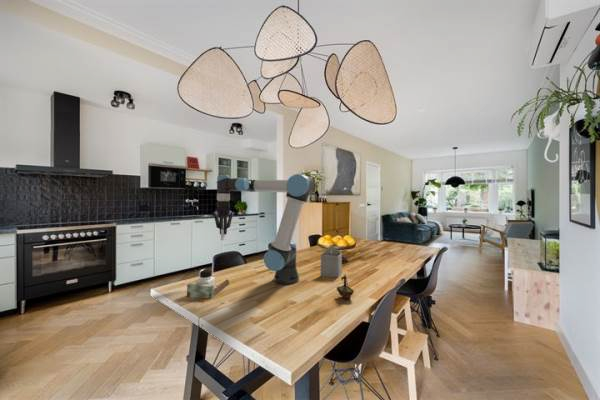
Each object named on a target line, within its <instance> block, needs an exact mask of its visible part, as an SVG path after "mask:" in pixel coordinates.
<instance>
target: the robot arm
mask: <svg viewBox="0 0 600 400" xmlns="http://www.w3.org/2000/svg"><path fill="white" fill-rule="evenodd" d="M315 191H316V181H315V180H314V179H313V178H312V177H310V176H308V175H305V174H303V173H296V174H293V175H291V176H290V177H289V178H288V179H247V178H246V177H239V178H238V177H237V178H234V177H231V176H230V175H229V174H218V175H217V178H216V200H217V201H216V210H215V211H213V212H212V215H213V217H214V221H215V225H216V228H217V229H219V235H220V241H224V240H226V235H227V233H228V229H230V227H231V224H232V220H233V217H234V214H235V211H234V212H233V211H232V210H231V192H249V193H253V192H254V193H257V192H258V193H286V194H285V197H286V198H287V201H286V203H285V206H284V210H283V213H282V217H281V220H280V223H279V226H278V229H277V233H276V235H275V239H274V240H273V241H271V242H270V245H269V250H267V251H266V252H265V253H264V255H263V263H264V265H265V267H266V268H267V269H268V270H269V271H272V272H275V273H274V275H273V281H274V283H276V284H279V285H280V284H281V285H292V284H296V283H298V282H299V281H300V276H299V272H298V269H297V244H296V242H292V239H293V237H294V232H295V230H296V227H297V224H298V221H299V217H300V215H301V211H302V208H303V205H304V204H305V203H307V201H308V199H309V197H310V196H311V195H312V194H314V192H315Z"/></svg>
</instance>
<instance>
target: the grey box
mask: <svg viewBox="0 0 600 400" xmlns="http://www.w3.org/2000/svg"><path fill="white" fill-rule="evenodd" d="M342 262H343V253H342V251H340V250H339V249H338V248H337V247H335V246H334V245H332V244H331V245H329V247H327V248H326V249H325V250H324V251H323V252H322V253H321V254H320V277H325V276H326V277H328V278H335V277H337V279H338V278H339V277H340V276H341V275H342V273H343V272H342Z"/></svg>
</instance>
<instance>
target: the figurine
mask: <svg viewBox="0 0 600 400" xmlns="http://www.w3.org/2000/svg"><path fill="white" fill-rule="evenodd" d="M347 278H348V277H347V274H344V276H341V281H343V285H341V286H337V287H336V291H337V292H338V294H339V296H341V298H342V299H345V300H346V299H347V300H348V299H350V298H351V297H352V296H353V294H354V292H355V290H354V289H352V288H351V287H350V286H348V285H349V283H348V281H347Z"/></svg>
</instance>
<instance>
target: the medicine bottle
mask: <svg viewBox="0 0 600 400" xmlns="http://www.w3.org/2000/svg"><path fill="white" fill-rule="evenodd" d="M198 274H199V278H198V279H197V280H196V281H195V284H206V285H214V289H215V288H216V277H215V276H213V275H212V274H213V270H212V269H211V268H203V269H200V270H199V273H198Z"/></svg>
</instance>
